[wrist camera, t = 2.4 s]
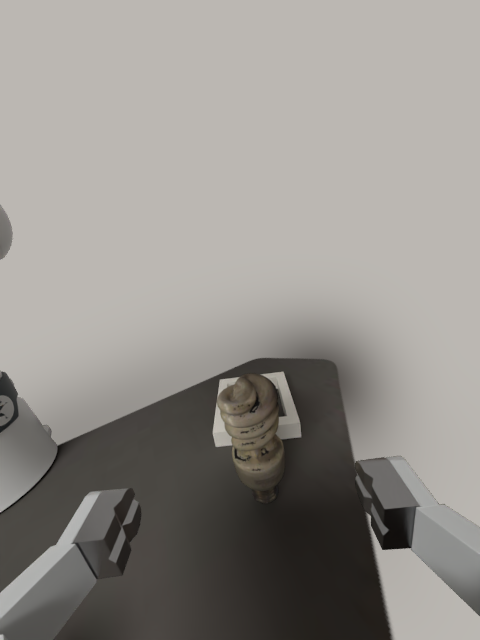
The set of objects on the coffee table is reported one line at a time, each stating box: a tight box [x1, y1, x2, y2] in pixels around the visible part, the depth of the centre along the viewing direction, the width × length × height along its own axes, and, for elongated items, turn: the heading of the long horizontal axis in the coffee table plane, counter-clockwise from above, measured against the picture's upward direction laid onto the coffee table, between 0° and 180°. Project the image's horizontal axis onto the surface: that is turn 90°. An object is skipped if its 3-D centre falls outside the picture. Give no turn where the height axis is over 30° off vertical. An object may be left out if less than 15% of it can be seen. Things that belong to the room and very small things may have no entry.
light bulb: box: [217, 373, 285, 503], centre depth 24 cm, size 6×6×15 cm
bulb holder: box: [213, 372, 301, 447], centre depth 39 cm, size 12×13×2 cm
